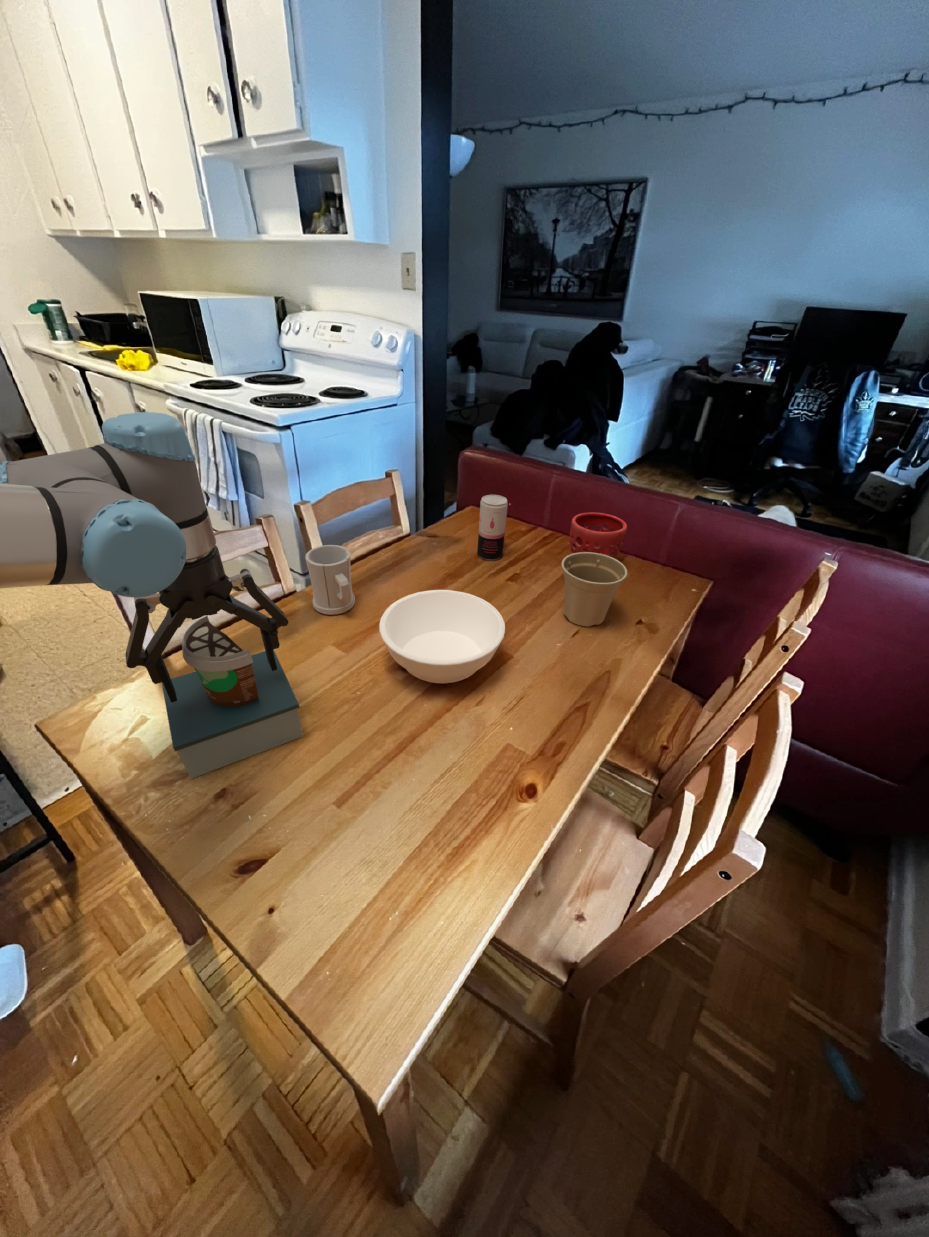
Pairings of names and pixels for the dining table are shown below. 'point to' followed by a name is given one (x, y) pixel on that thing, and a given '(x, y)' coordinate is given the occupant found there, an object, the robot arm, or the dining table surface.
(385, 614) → the bowl
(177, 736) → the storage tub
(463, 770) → the dining table surface
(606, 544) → the flower pot
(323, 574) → the cup
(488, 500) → the beverage can
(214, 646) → the food container
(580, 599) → the flower pot
